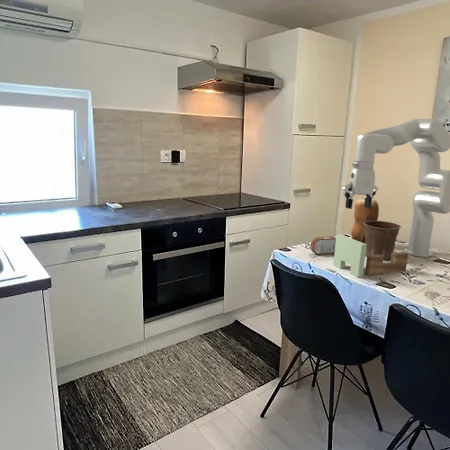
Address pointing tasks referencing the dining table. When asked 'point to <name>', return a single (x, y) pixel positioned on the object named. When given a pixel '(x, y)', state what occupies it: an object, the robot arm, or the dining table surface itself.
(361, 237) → the butternut squash
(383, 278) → the dining table surface
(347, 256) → the green slotted plate
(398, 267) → the walnut slotted plate
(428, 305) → the dining table surface
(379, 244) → the plant pot
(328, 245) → the tin
